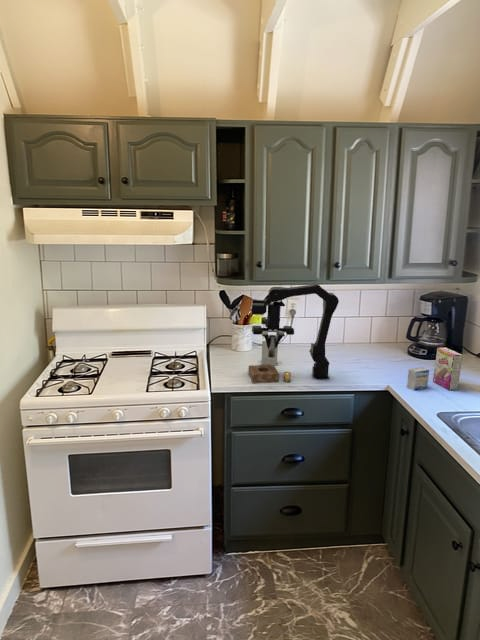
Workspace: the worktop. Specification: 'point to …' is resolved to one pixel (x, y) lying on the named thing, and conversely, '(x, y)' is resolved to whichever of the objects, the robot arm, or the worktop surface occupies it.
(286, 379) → the short pin
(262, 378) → the hole block
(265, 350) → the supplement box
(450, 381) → the candy bar box
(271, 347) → the long pin
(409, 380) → the medicine box
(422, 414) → the worktop surface
